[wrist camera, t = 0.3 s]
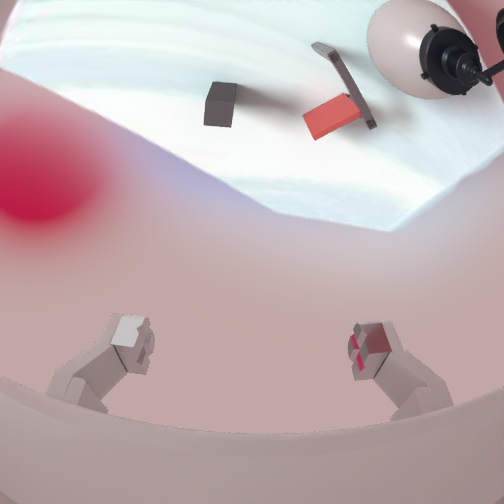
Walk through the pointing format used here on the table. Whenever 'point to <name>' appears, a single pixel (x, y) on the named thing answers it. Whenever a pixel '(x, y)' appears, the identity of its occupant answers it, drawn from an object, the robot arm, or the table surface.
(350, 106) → the red square panel
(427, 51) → the light fixture
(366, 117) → the frame
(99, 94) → the table surface
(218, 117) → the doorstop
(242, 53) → the table surface
